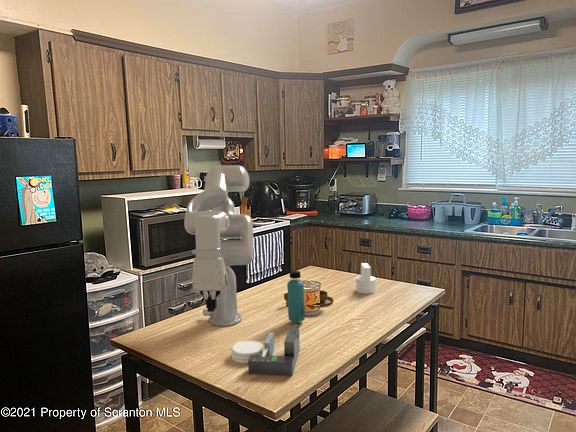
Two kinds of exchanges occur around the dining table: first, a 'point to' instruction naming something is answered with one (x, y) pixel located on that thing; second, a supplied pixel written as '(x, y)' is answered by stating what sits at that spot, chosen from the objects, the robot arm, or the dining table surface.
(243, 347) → the white round tin
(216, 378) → the dining table surface
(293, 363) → the frame
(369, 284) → the cylinder with rectangular tab
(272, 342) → the gauge plunger
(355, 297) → the dining table surface
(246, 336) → the dining table surface
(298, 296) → the beverage bottle
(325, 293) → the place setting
